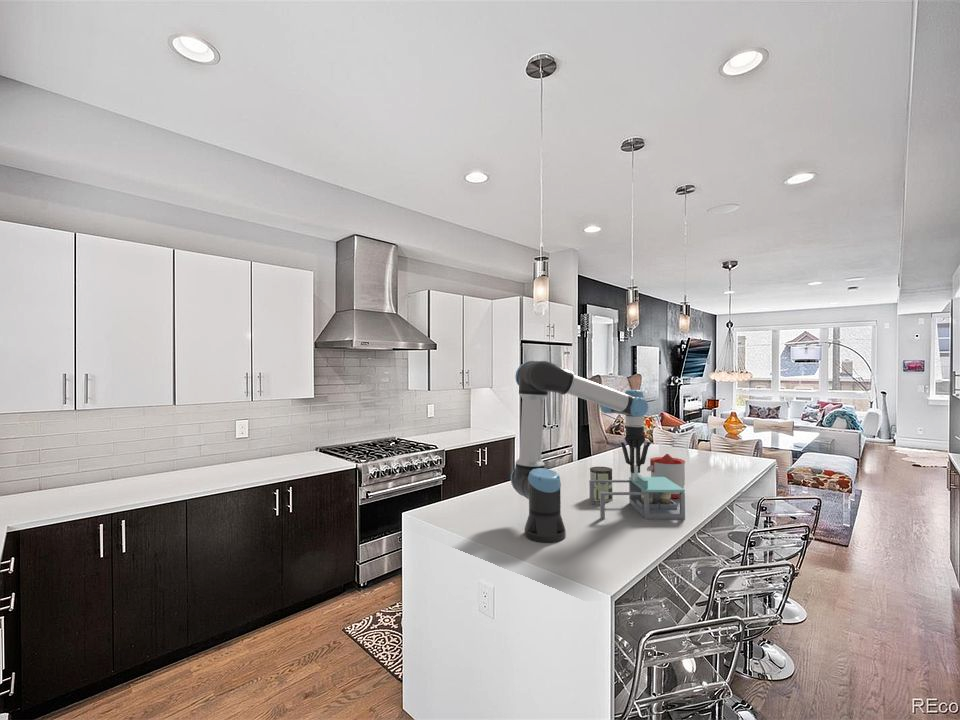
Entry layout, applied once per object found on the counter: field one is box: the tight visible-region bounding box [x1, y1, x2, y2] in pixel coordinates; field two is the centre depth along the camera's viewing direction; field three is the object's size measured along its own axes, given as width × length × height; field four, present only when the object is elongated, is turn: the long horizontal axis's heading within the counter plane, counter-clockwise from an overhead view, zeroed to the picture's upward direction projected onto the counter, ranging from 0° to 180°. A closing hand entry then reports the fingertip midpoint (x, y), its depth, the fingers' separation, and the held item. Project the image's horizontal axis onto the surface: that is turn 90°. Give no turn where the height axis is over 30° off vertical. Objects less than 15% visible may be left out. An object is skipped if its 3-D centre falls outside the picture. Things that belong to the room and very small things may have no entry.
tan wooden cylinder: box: [660, 492, 672, 504], centre depth 201 cm, size 4×4×8 cm
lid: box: [628, 472, 685, 493], centre depth 202 cm, size 22×16×4 cm
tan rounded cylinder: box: [641, 489, 653, 504], centre depth 201 cm, size 4×4×8 cm
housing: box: [588, 479, 686, 520], centre depth 202 cm, size 22×34×10 cm, turn 89°
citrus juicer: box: [646, 453, 686, 499], centre depth 225 cm, size 16×17×20 cm
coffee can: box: [589, 466, 614, 503], centre depth 220 cm, size 10×10×14 cm
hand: (635, 480), depth 202 cm, fingers closed
